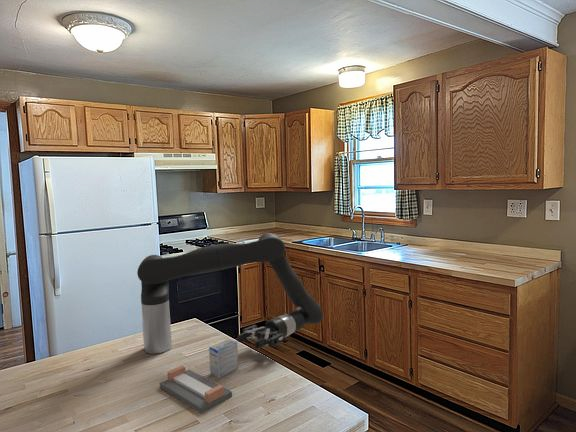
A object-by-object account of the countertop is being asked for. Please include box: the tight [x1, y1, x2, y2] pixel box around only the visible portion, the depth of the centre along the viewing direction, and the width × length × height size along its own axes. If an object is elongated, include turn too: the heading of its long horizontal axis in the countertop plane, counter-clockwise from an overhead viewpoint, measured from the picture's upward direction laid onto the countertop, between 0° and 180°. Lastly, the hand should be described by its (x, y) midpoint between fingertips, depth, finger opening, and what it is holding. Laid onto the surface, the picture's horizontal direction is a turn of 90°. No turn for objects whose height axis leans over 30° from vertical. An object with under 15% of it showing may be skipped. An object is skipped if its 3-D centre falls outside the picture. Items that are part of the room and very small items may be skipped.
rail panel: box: [159, 365, 233, 414], centre depth 111 cm, size 20×10×4 cm, turn 48°
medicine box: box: [208, 338, 239, 379], centre depth 122 cm, size 8×4×9 cm, turn 141°
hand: (246, 342), depth 129 cm, fingers open, 8 cm apart
